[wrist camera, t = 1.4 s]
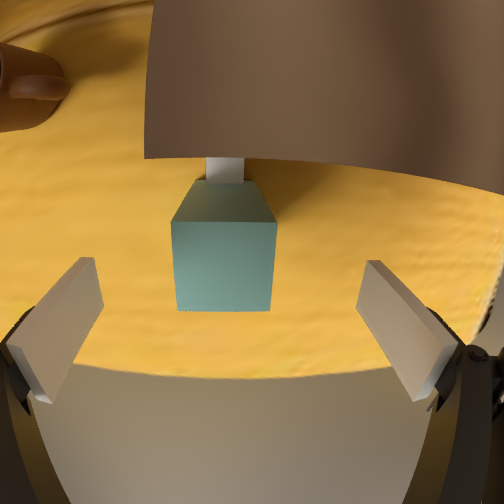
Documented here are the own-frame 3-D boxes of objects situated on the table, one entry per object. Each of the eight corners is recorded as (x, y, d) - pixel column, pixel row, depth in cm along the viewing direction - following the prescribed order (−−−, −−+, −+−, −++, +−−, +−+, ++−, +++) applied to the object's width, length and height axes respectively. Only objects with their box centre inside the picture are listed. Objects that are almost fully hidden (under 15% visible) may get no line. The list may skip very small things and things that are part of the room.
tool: (196, 234, 26) (177, 310, 15) (201, 36, 19) (184, -31, 8) (251, 234, 27) (269, 311, 16) (260, 38, 20) (289, -28, 9)
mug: (114, 57, 19) (64, 29, 10) (93, 136, 22) (33, 145, 13) (21, 58, 17) (-37, 47, 8) (5, 127, 19) (-56, 137, 11)
